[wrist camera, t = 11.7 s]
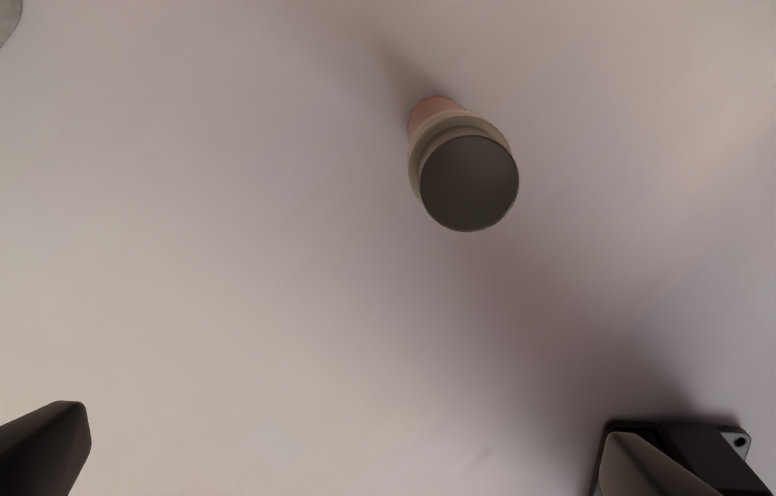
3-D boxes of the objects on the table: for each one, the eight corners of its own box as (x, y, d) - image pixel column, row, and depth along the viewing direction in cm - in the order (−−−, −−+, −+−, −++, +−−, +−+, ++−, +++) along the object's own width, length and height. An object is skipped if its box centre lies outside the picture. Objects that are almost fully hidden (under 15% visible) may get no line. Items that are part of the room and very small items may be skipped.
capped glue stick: (464, 157, 20) (522, 245, 10) (405, 154, 20) (405, 239, 10) (469, 96, 19) (538, 126, 9) (408, 93, 19) (412, 120, 9)
